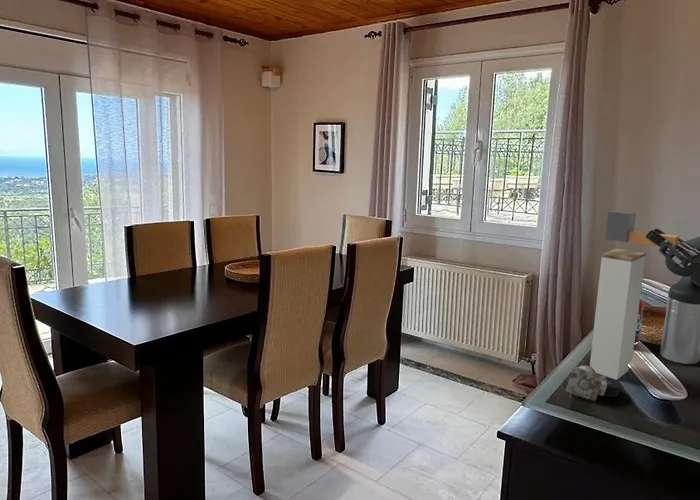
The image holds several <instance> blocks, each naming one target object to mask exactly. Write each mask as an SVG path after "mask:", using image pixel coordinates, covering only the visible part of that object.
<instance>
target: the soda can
mask: <svg viewBox="0 0 700 500" xmlns="http://www.w3.org/2000/svg"><path fill="white" fill-rule="evenodd" d="M642 299H643V297H642V296H641V295H640V302H639V310H638V318H637V325H636V333H635V341H634V343H636V342H639V343H640V339H641V338H640V337H641V332H642V331H641V330H642V323H643V315H644V307H645V303H644V300H642Z"/></svg>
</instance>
